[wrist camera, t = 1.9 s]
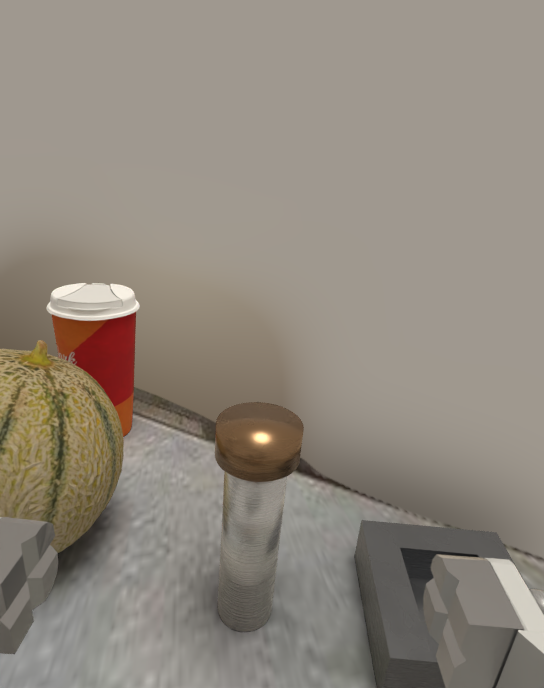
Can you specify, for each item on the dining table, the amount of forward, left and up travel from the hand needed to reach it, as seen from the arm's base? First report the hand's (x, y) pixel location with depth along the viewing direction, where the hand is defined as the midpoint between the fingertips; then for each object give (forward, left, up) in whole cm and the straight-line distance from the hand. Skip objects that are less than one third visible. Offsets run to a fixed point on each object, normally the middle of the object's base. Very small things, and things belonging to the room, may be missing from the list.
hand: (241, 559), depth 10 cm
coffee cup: (-17, +33, -19) cm, 42 cm away
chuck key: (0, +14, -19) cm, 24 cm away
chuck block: (+14, +14, -19) cm, 28 cm away
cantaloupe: (-17, +18, -19) cm, 31 cm away
